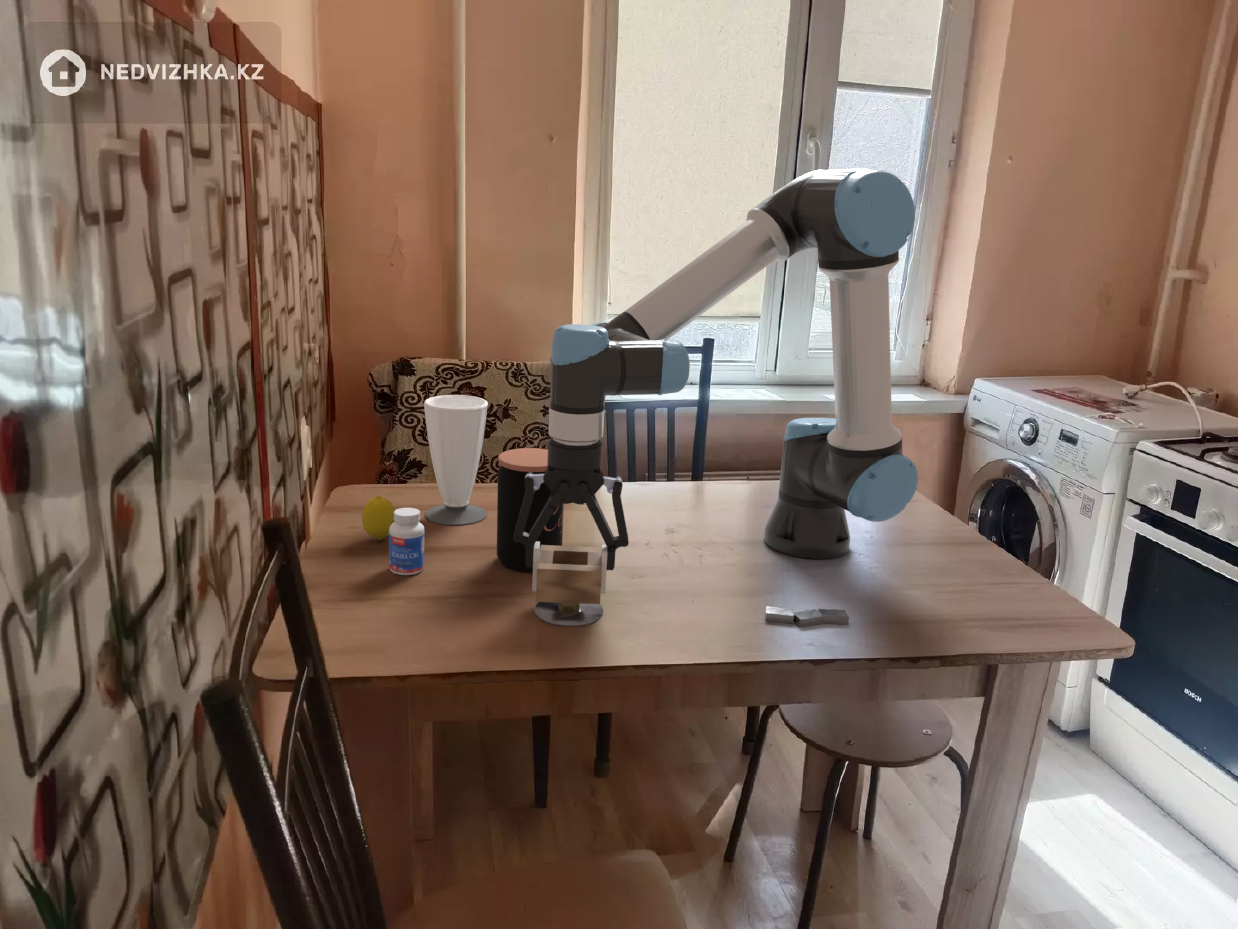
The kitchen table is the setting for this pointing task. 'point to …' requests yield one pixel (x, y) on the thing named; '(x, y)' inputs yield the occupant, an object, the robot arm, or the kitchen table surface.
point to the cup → (455, 455)
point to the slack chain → (806, 616)
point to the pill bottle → (406, 542)
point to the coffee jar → (510, 505)
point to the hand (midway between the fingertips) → (569, 588)
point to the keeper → (568, 613)
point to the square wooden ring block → (569, 574)
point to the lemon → (378, 517)
